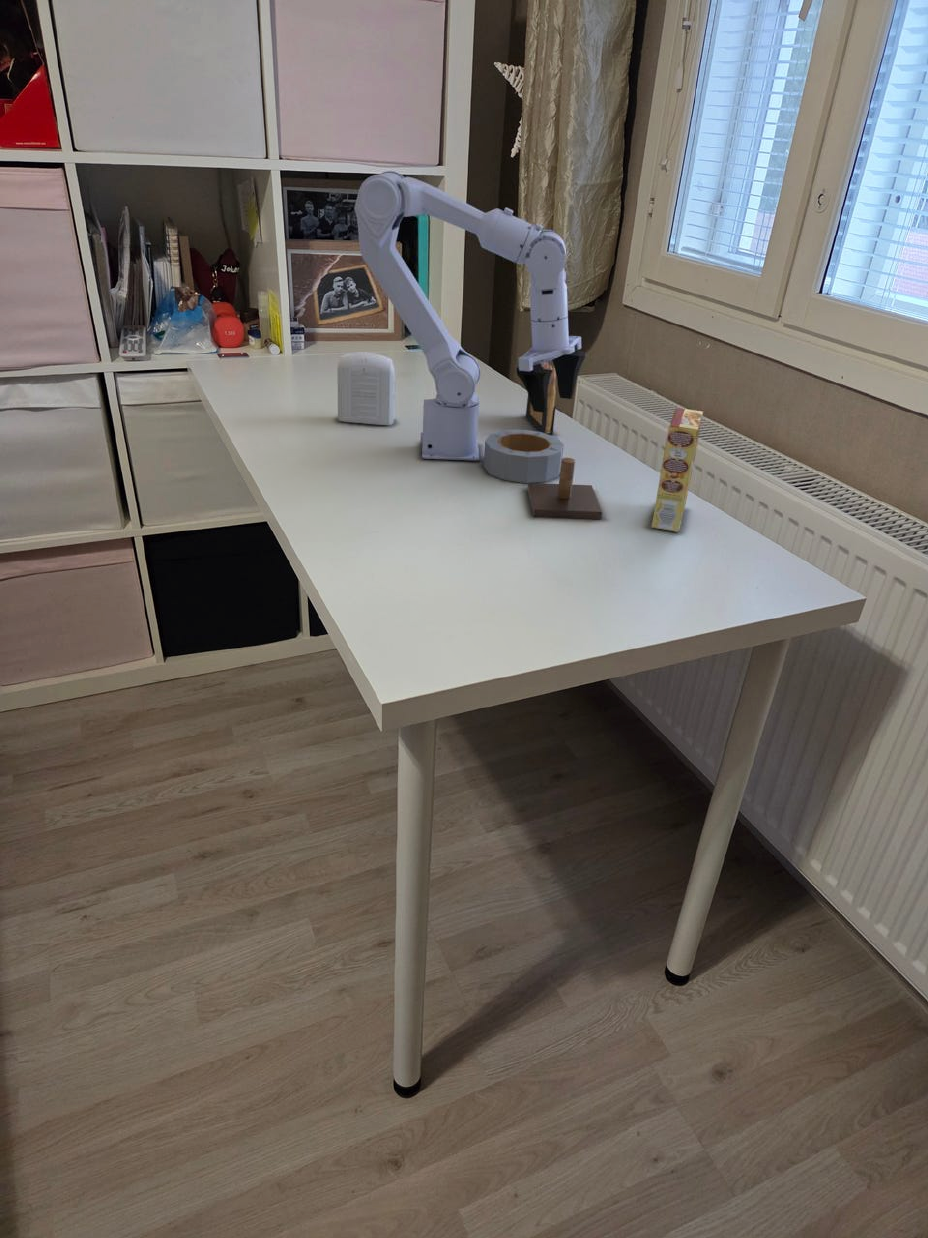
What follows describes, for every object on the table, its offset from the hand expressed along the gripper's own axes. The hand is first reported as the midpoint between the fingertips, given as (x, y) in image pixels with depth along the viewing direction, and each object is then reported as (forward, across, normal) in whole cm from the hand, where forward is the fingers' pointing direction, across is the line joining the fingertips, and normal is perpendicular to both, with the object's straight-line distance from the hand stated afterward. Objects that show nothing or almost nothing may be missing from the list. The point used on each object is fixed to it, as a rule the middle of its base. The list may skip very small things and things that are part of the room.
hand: (553, 404), depth 138 cm
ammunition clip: (+9, +13, +13) cm, 21 cm away
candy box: (+13, -7, -24) cm, 28 cm away
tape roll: (+9, -6, +2) cm, 11 cm away
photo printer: (+5, -9, +35) cm, 37 cm away
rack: (+10, -14, -11) cm, 20 cm away
